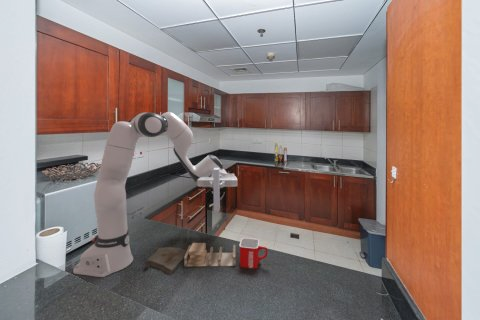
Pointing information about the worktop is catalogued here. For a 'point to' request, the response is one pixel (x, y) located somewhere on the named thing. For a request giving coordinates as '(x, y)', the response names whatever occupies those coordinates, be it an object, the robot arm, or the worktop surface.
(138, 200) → the worktop surface
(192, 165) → the robot arm
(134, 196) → the worktop surface
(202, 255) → the offcut stack
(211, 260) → the offcut rack
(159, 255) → the brown flat slab
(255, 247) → the mug
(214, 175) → the tall board
